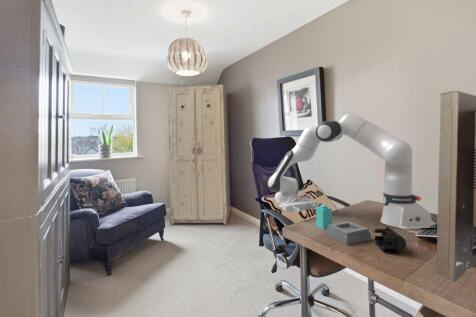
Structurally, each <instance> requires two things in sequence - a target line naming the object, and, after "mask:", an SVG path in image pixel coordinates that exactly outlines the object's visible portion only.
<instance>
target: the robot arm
mask: <svg viewBox="0 0 476 317" xmlns="http://www.w3.org/2000/svg"><path fill="white" fill-rule="evenodd" d="M343 135H344V136H346V137H349V138H350V139H352V140H353V141H355V142H357V143H358V144H360V145H362V146H364V147H365V149H368V150H370V151H371V152H372V153H373V154H375V155H377V156H378V157H379V158H380V159H382V160H383V161H384V175H383V177H384V178H383V179H384V180H383V182H384V183H383V184H384V186H383V187H384V191H383V193H382V194H383V195H382V203H383V208H382V209H383V210H382V212H381V214H382V215H381V218H380V222H381V223H382V224H384V225H386V226H388V227H394V228H399V229H402V230H407V231H408V230H409V231H410V230H422V229H421V228H427V227H429V226H431V225H433V224H437V222H435V221H433V220H432V215H431V213H430V211H429V210H427V208H424V206H423V205H421V204H419V203H418V202H420V201H421V200H422V197H421V196H419V195H415V194H413V149H412V148H413V147H412V146H411V144H409V143H408V141H406V140H405V141H404V140H402V139H400V138H398V137H397V136H395V135H393V134H391V133H390V132H388V131H386V130H384V129H383V128H381V127H379V126H378V125H376V124H374V123H373V122H370V121H368V120H367V119H365V118H363V117H361V116H359V115H356V114H354V113H346V114H344V115H343V116H341V117H340V119H339V120H324V121H321V122H320V123H319V124H318V125H317V126H316V127H315V126H307V127H305V129H304V130H303V131H302V133H301V134H300V135H299V138H298V140H297V143H296V144H295V146H294V147H293V148H292V149H291V150H289V151H287V152H286V153H285V154H284V156H283V158H282V159H281V161H280V163H279V164H278V166H277V167H276V168H275V170H274V172H273V173H272V174H271V175H270V177H269V178H268V180H267V187H268V189H269V191H271V193H275V195H274V201H275V202H276V204H277V205H278V207H279V208H281V210H282V211H283V212H285V213H291V212H294V213H295V212H298V213H300V212H302V211H304V210H305V211H306V210H311V209H312V210H315V211H316V207H319V206H318V205H319V204H318V200H316V199H313V198H309V197H308V196H306V195H298V194H299V191H300V185H299V182H298V180H297V178H294V177H291V176H289V177H288V176H285V174H286V172H287V171H288V169H289V167H290V166H292V165H293V164H297V163H298V164H299V163H304V162H307V161H310V160H312V158H313V157H314V155H315V153H316V152H317V149H318V147H319V144H320V143H321V142H324V143H329V142H331V143H332V142H336V141H338V140H340V139H341V138H342V137H343Z"/></svg>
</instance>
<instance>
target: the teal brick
mask: <svg viewBox="0 0 476 317" xmlns="http://www.w3.org/2000/svg"><path fill="white" fill-rule="evenodd" d="M329 224H333V209H332V207H329V206H328V205H326V204H321V205H320V206H318V207H316V209H315V225H316V227H318V228H319V229H322V230H325V229H326V228H328V225H329Z"/></svg>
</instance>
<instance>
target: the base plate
mask: <svg viewBox="0 0 476 317" xmlns="http://www.w3.org/2000/svg"><path fill="white" fill-rule="evenodd" d="M325 233H326V234H325V235H326V236H328V237H329V238H332V239H334V240H336V241H338V242H340V243H343V244H344V245H346V246H349V245H353V244H359V243H363V242H367V241H371V239H372V238H371V237H372V236H371V235H372V234H371V232H370V230H369V228H368V227H365V226H362V225H359V224H357V223H354V222H352V221H349V220H346V221H342V222H335V223H332V224H329V225H328V228H326V231H325Z"/></svg>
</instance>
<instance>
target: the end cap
mask: <svg viewBox="0 0 476 317" xmlns="http://www.w3.org/2000/svg"><path fill="white" fill-rule="evenodd" d="M374 233H375V234H380V235H374V241H375V243H374V244H375V245H376V246H377V247H378V248H379V249H380V251H382V253H383V254H390V255H391V254H393V255H395V254H399V253H401V252H403V251H404V250H406V247H407V241H406V239H405V238H404V237H403V236H402V235H400V234H399V233H398V232H396V231H395V230H394V229H393V228H392V227H391V226H385V228H374Z"/></svg>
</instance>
